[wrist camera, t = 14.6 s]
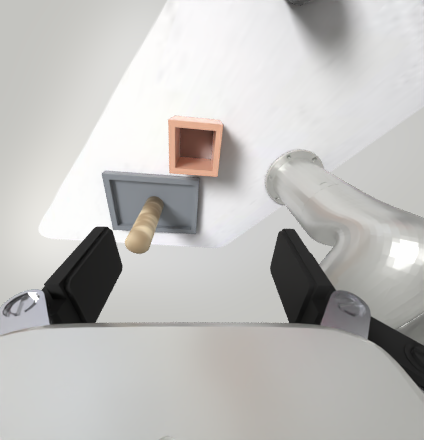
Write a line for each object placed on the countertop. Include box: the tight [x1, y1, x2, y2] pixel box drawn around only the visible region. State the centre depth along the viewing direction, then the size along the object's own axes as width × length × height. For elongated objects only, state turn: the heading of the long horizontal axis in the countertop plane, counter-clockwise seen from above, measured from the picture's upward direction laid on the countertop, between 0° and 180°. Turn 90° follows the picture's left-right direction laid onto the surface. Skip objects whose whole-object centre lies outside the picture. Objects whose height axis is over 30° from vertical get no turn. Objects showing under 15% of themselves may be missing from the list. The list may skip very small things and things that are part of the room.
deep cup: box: [168, 116, 223, 177], centre depth 36 cm, size 8×8×8 cm
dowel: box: [125, 196, 164, 254], centre depth 40 cm, size 4×4×15 cm
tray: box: [102, 171, 199, 234], centre depth 46 cm, size 20×14×2 cm
